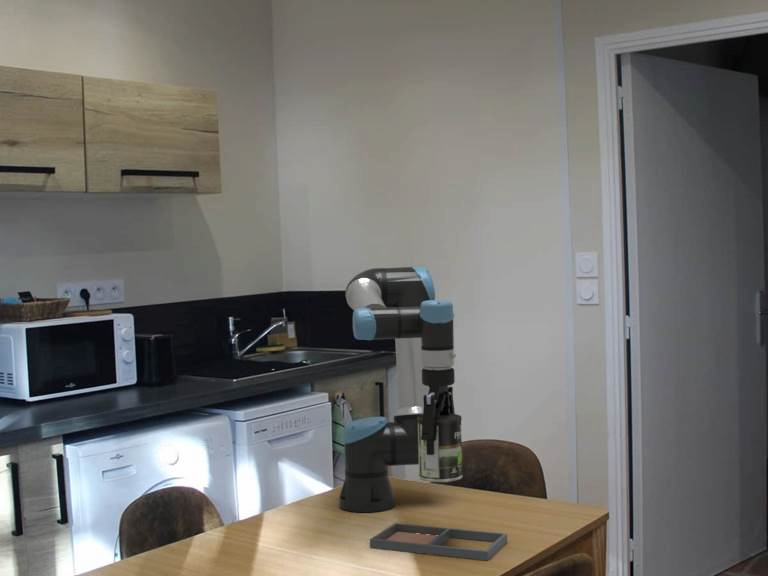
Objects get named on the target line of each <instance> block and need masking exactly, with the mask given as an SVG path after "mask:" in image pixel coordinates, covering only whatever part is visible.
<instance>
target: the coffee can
mask: <svg viewBox="0 0 768 576" xmlns="http://www.w3.org/2000/svg"><path fill="white" fill-rule="evenodd" d="M417 421H418V456H419V464H418V479H420V480H422V481H424V482H430V483H449V482H456V481H458V480H461V479H462V478H463V451H462V448H463V447H462V444H463V443H462V415H460V414H456V413H455V414H450V415H440V416H439V421H434V423H435V422H437V435H436V440H438V469H428V468H426V449H425V440H421V435H422V422H423V415H420V416H418V417H417Z"/></svg>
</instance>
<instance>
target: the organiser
mask: <svg viewBox="0 0 768 576" xmlns="http://www.w3.org/2000/svg"><path fill="white" fill-rule="evenodd" d="M416 533H420V534H416ZM426 534H430V535H426ZM436 535H438V536H436ZM450 537H452V538H450ZM449 539H461V540H470V539H471V541H479V540H483V541H482V542H489V541H491V542H492V544H491V545H489V546H488V547H487V548H486V549H485V550H484V549H475V548H466V547H457V546H456V547H454V546H449V545H448V546H447V545H446V546H445V545H443V544H444V543H446V540H447V541H448V540H449ZM442 543H443V544H442ZM507 543H508V533H504V532H503V533H502V532H493V531H482V530H472V529H471V530H470V529H463V528H453V527H443V526H442V527H440V526H431V525H420V524H410V523H400V522H394V523H393V524H391V525H390V526H388V527H387V528H385V529H384V530H382V531H381V532H379V533H377V534H376V535H375V536H373V537H371V538H370V539H369V548H370V549H377V550H385V551H386V550H387V551H395V552H404V553H412V552H416V553H415V554H421V553H429V554H428V555H430V554H436V555H435V556H439V555H444V556H443V557H448V556H452V557H451V558H457V557H460V558H459V559H466V558H470V559H469V560H475V559H479V560H478V561H484V560H487V561H486V562H488V561H489V560H491V558H492V557H493V556H495V554H497V553H498V552H499V551H500V550H501V549H502V548H504V546H505V545H506V544H507ZM441 544H442V545H441ZM417 552H418V553H417ZM420 552H421V553H420Z"/></svg>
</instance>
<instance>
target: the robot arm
mask: <svg viewBox="0 0 768 576" xmlns="http://www.w3.org/2000/svg"><path fill="white" fill-rule="evenodd" d="M346 285H347V286H346V288H345V299H346V303H347V305H348V306H349V308H351V309H352V311H353V312H352V332H353V336H354V339H356V340H363V341H364V340H365V341H374V340H394V341H395V357H396V358H395V359H396V360H395V362H396V378H397V380H396V381H397V397H398V410H396V412H395V413H394V414H393V421H391V422H388V419H387V418H386V417H385V416H370V417H364V418H359V419H355V420H351V422H348V423H347V424H346V425H345V426H344V431H343V432H344V433H343V445H344V481H343V484H342V487H341V490H340V494H339V497H338V503H339V504H338V506H339V508H340V509H342V510H344V511H346V512H347V511H348V512H354V513H375V512H382V511H388V510H389V509H393V508H394V507H395V506H396V496H395V492H394V489H393V487H392V483H391V480H390V477H389V467H390V466H394V467H395V466H414V465H416V466H417V465H419V456H418V421H417V417H418V416H420V415H423V422H422V435H421V440H425V449H426V468H428V469H438V440H436V435H437V422H435V423H434V421H439V416H440V415H450V414H456V413H455V411H456V410H455V404H454V397H453V396H454V395H453V394H454V393H453V392H454V387H453V386H452V385H454V384H455V369H454V368H453V366H454V365H455V358H456V357H457V353H455V350H454V349H455V348H454V345H455V344H454V341H455V340H454V339H455V338H454V336H455V335H454V318H455V314H454V307H453V303H452V301H450V300H449V299H447V300H445V299H436V291H435V285H434V282H433V277H432V275H431V273H430V271H429V270H428V269H427V268H425V267H419V266H418V267H416V266H415V267H414V266H407V267H406V266H405V267H404V266H403V267H383V268H382V267H378V268H377V267H376V268H375V267H374V268H370V269H366V270H363V271H362V272H359V273H357V274H356V275H355V276H353V278H352V279H351V280H349V282H348V283H347V284H346Z"/></svg>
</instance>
